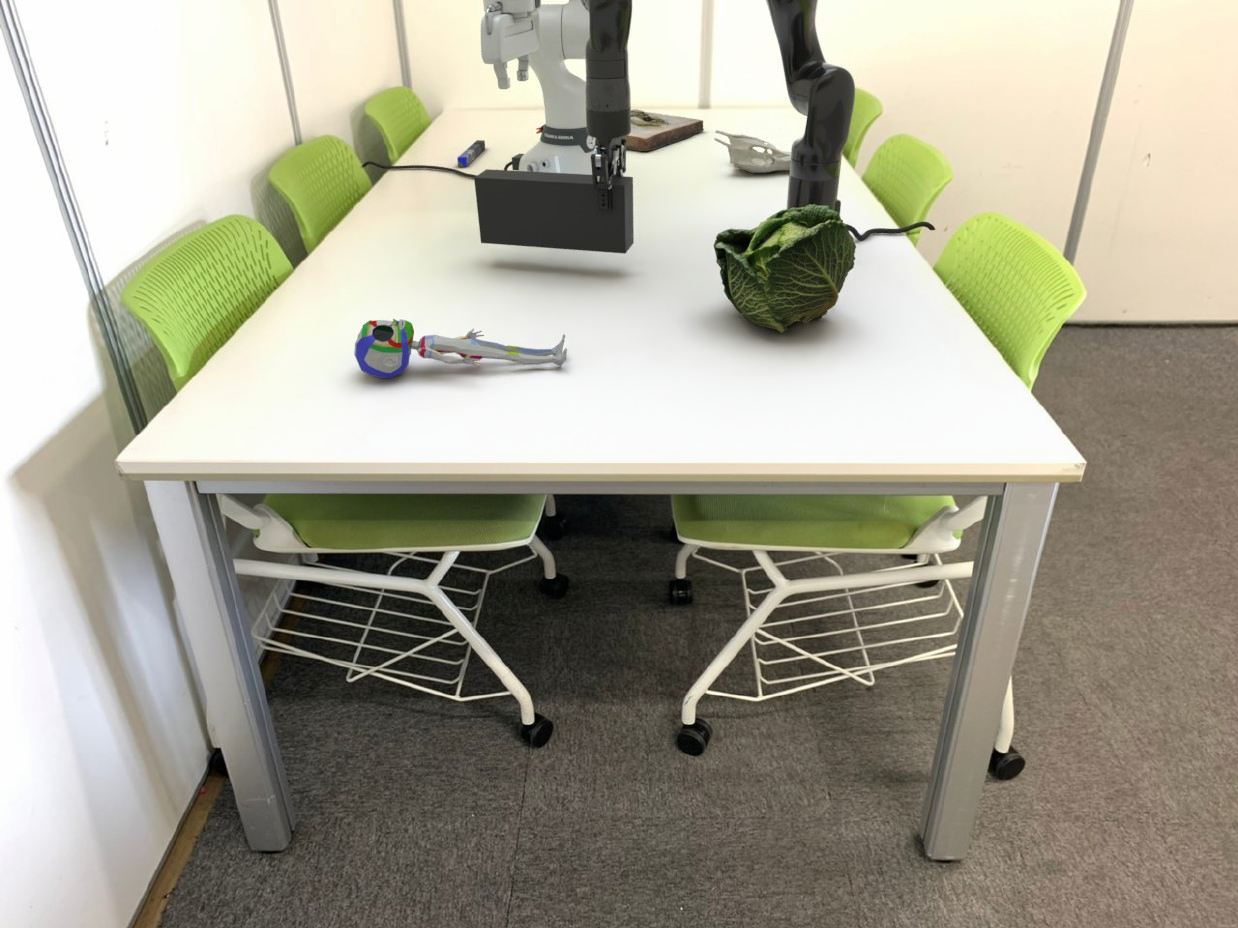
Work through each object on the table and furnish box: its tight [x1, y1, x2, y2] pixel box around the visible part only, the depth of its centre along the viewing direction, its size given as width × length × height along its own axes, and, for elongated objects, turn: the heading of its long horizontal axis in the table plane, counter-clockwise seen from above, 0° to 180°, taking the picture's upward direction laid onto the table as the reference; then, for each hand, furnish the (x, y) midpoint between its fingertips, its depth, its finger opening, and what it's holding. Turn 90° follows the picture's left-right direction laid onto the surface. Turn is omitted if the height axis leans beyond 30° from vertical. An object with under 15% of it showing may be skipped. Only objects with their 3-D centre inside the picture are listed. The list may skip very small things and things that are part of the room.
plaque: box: [595, 108, 705, 152], centre depth 257 cm, size 30×7×30 cm
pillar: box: [456, 139, 486, 168], centre depth 239 cm, size 2×2×20 cm
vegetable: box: [713, 204, 857, 334], centre depth 140 cm, size 20×19×20 cm
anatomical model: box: [714, 130, 791, 174], centre depth 222 cm, size 15×9×25 cm
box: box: [473, 168, 635, 254], centre depth 161 cm, size 28×6×12 cm, turn 75°
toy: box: [353, 318, 568, 379], centre depth 130 cm, size 10×8×30 cm
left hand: (513, 84), depth 165 cm, fingers open, 8 cm apart
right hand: (610, 205), depth 158 cm, fingers closed on box, 5 cm apart
